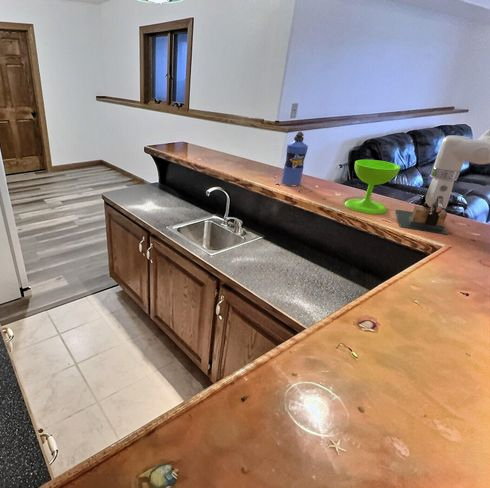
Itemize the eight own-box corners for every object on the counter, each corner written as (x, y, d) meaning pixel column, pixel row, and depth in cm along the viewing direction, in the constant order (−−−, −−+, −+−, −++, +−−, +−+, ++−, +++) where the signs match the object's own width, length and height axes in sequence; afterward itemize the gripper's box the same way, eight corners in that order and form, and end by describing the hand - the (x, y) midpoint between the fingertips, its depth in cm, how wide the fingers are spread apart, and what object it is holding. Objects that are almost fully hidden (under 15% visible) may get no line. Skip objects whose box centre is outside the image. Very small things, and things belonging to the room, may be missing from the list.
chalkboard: (436, 217, 137) (437, 215, 136) (447, 237, 120) (448, 234, 120) (395, 211, 142) (395, 209, 142) (400, 229, 126) (401, 226, 125)
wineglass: (375, 217, 136) (389, 171, 128) (336, 205, 148) (347, 162, 140) (393, 208, 145) (408, 165, 137) (356, 198, 156) (367, 158, 148)
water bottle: (278, 180, 180) (287, 130, 168) (297, 181, 179) (306, 130, 168) (283, 186, 171) (292, 133, 160) (302, 186, 171) (313, 134, 160)
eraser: (439, 225, 127) (446, 209, 125) (442, 230, 123) (449, 214, 120) (407, 220, 131) (413, 205, 129) (409, 225, 127) (415, 209, 124)
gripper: (464, 181, 110) (445, 230, 118) (452, 169, 124) (435, 214, 132) (436, 178, 113) (419, 226, 121) (427, 167, 127) (412, 211, 135)
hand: (427, 220), depth 126 cm, fingers open, 9 cm apart
